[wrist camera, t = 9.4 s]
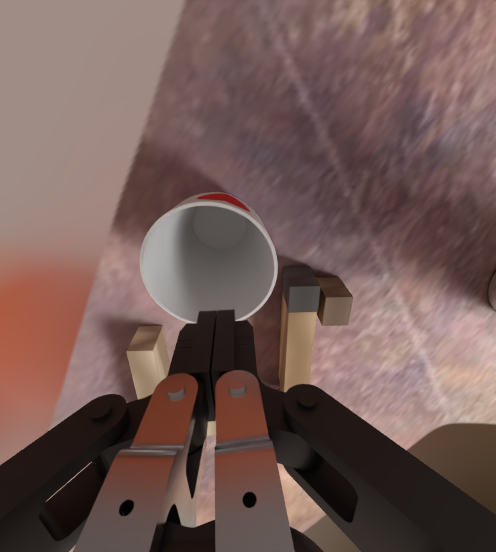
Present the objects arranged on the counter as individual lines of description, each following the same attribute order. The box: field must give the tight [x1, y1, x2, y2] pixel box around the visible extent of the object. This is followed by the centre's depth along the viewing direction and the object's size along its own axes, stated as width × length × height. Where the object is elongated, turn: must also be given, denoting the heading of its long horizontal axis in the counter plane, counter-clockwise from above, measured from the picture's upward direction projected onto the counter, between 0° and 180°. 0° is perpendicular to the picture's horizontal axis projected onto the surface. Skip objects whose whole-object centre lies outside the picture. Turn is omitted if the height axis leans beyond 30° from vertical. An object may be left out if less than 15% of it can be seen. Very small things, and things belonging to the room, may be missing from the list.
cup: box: [140, 192, 278, 323], centre depth 21 cm, size 8×8×10 cm
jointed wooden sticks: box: [126, 277, 353, 436], centre depth 31 cm, size 21×18×4 cm
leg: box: [279, 266, 321, 392], centre depth 29 cm, size 3×16×5 cm, turn 1°
